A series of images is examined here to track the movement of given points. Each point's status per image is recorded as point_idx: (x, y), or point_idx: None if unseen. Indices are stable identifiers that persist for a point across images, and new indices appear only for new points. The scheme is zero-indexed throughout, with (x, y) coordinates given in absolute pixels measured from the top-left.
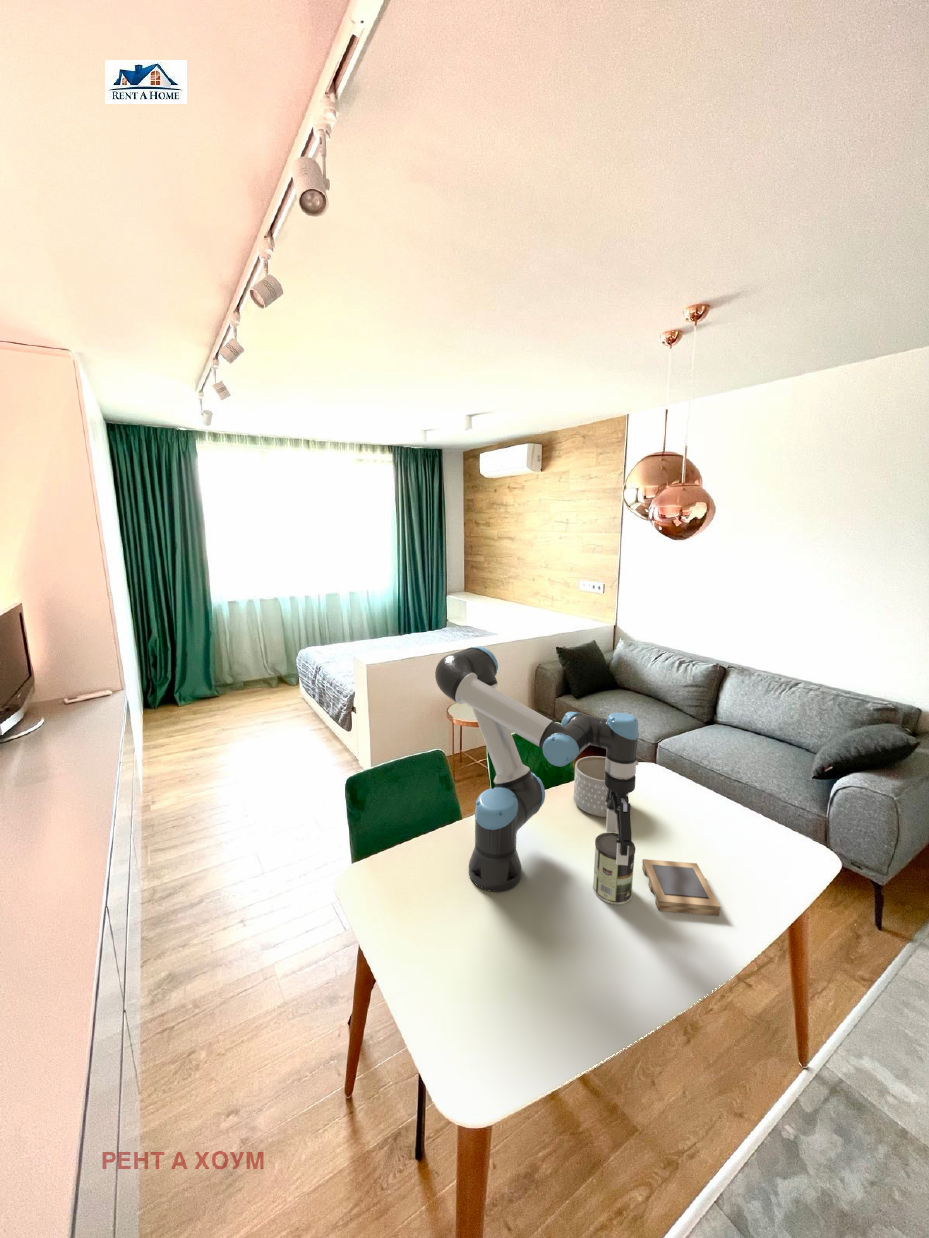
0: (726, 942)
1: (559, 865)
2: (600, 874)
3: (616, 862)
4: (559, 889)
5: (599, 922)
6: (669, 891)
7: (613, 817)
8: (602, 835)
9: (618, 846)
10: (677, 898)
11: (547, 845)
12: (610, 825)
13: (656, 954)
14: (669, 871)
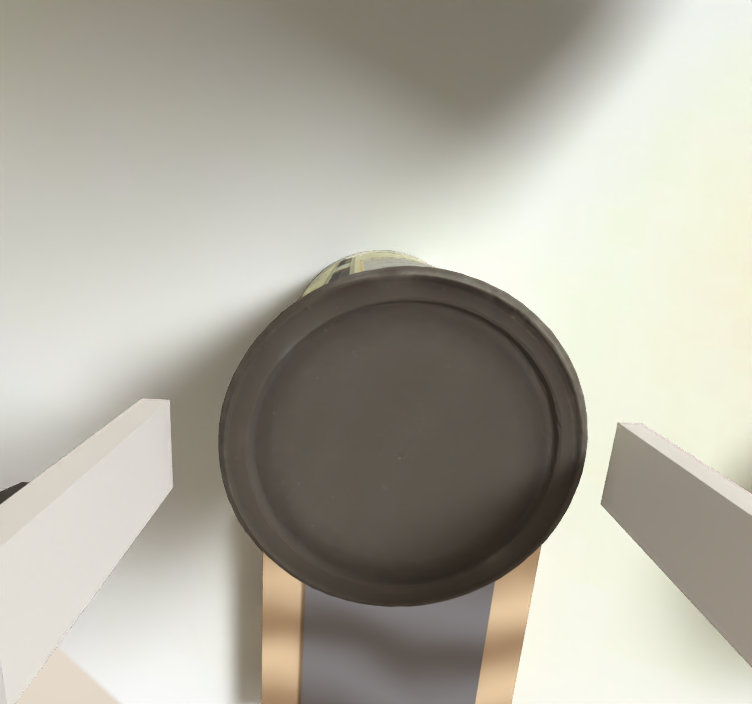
0: (155, 665)
1: (562, 96)
2: (320, 279)
3: (150, 402)
4: (375, 60)
5: (174, 231)
6: None
7: (723, 583)
8: (543, 369)
9: (3, 510)
10: (288, 602)
11: (740, 48)
12: (654, 488)
13: (46, 424)
14: (449, 624)
